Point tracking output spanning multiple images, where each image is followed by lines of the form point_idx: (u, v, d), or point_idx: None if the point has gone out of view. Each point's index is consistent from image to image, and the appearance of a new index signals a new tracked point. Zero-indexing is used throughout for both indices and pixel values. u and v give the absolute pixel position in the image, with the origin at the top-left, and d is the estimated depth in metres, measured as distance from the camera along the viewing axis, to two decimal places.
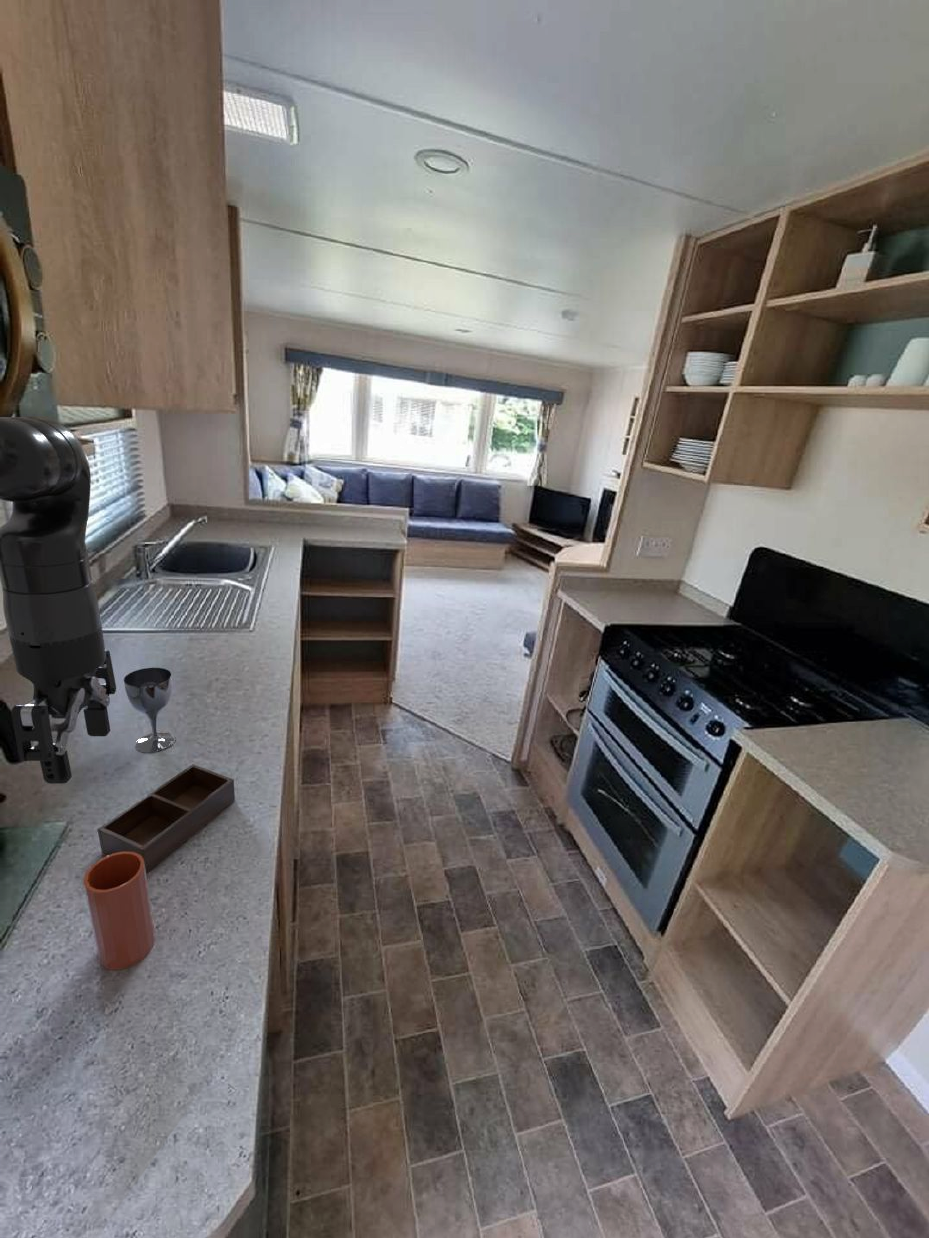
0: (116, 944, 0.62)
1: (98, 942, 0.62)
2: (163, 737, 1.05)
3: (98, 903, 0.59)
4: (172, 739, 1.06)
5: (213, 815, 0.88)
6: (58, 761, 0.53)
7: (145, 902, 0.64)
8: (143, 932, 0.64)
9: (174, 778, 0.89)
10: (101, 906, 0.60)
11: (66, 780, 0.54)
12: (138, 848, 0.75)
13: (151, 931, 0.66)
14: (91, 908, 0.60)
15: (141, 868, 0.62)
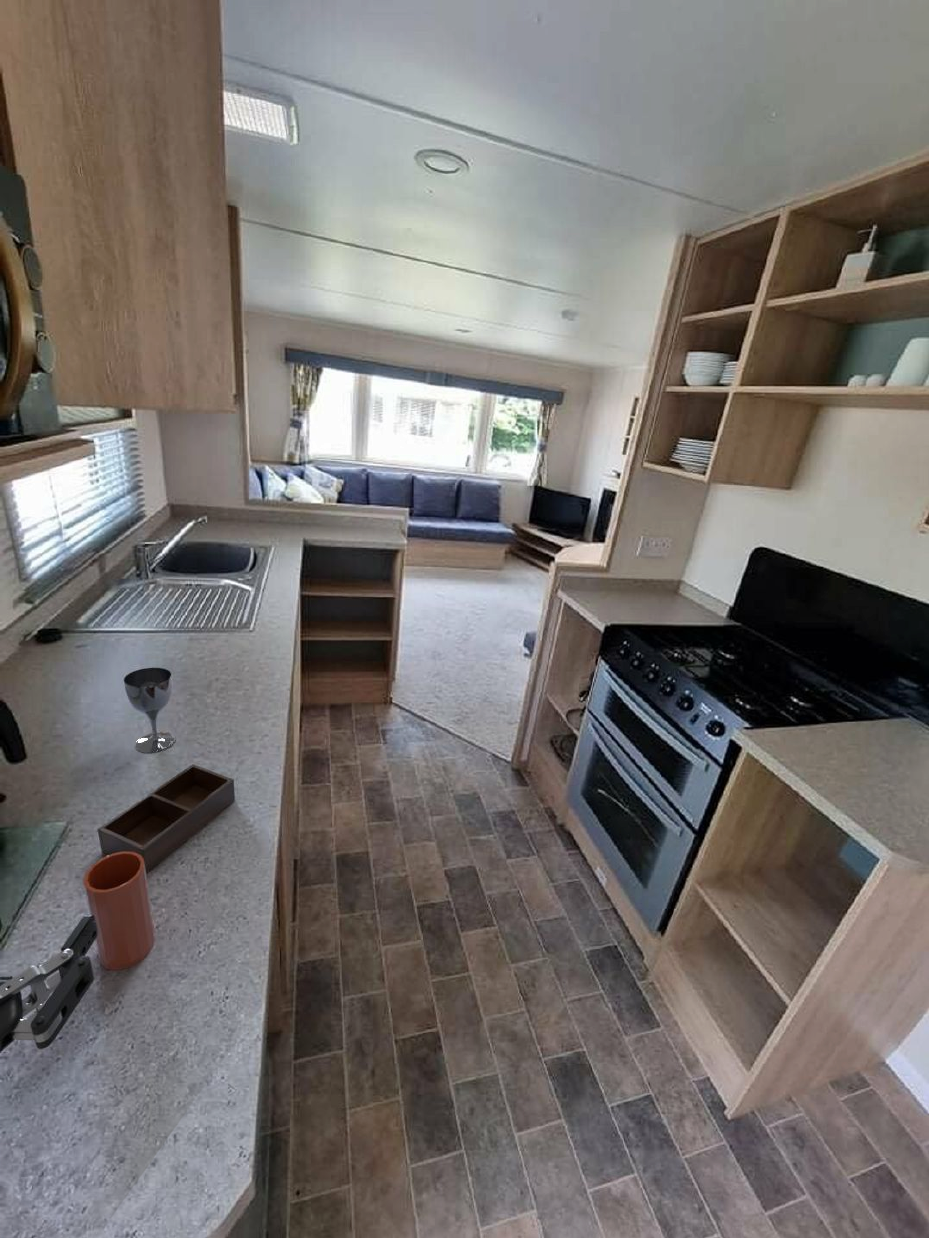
0: (116, 944, 0.62)
1: (98, 942, 0.62)
2: (163, 737, 1.05)
3: (98, 903, 0.59)
4: (172, 739, 1.06)
5: (213, 815, 0.88)
6: None
7: (145, 902, 0.64)
8: (143, 932, 0.64)
9: (174, 778, 0.89)
10: (101, 906, 0.60)
11: None
12: (138, 848, 0.75)
13: (151, 931, 0.66)
14: (91, 908, 0.60)
15: (141, 868, 0.62)
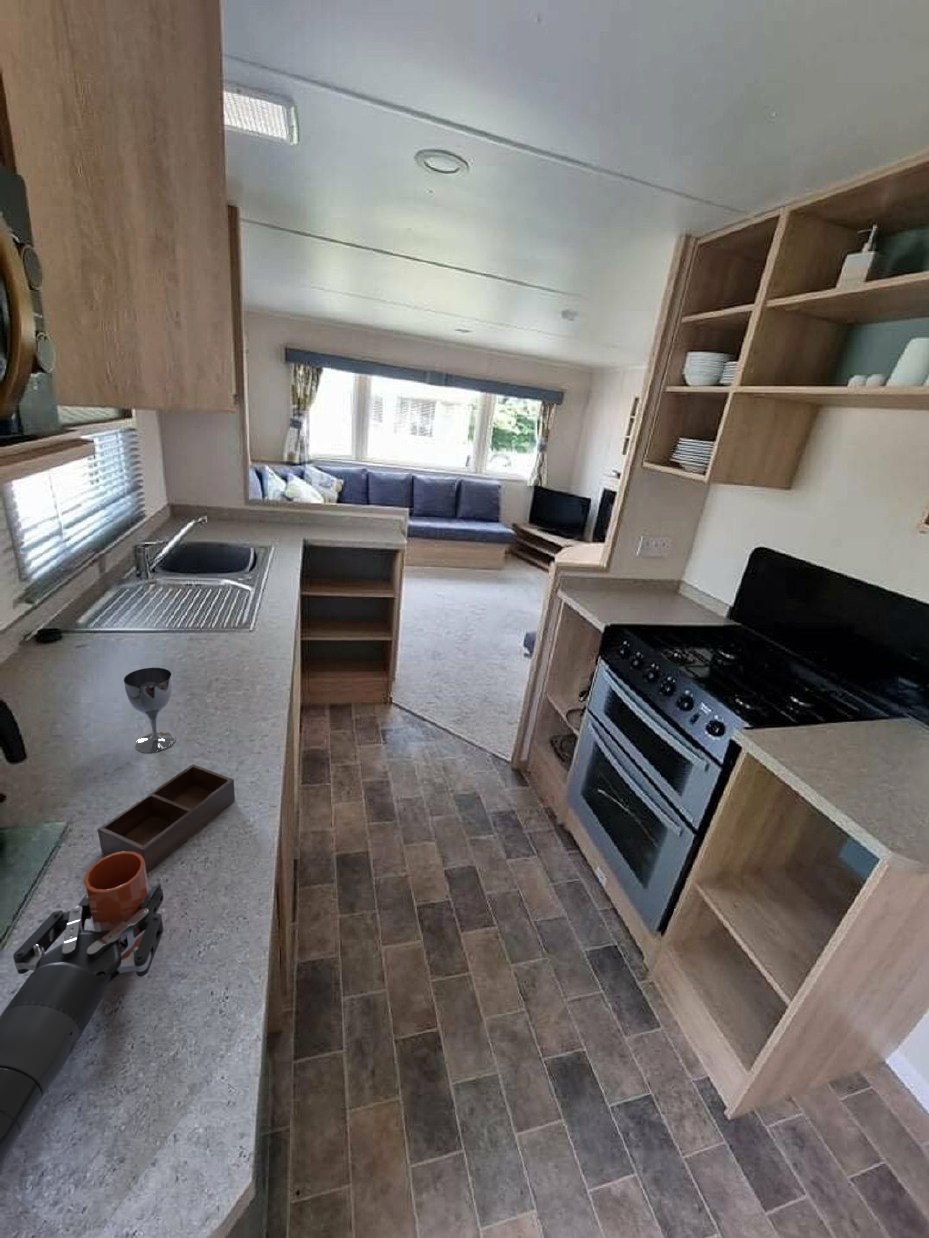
0: None
1: None
2: (163, 737, 1.05)
3: (98, 903, 0.59)
4: (172, 739, 1.06)
5: (213, 815, 0.88)
6: None
7: None
8: None
9: (174, 778, 0.89)
10: (101, 906, 0.60)
11: None
12: (138, 848, 0.75)
13: None
14: (91, 908, 0.60)
15: (141, 868, 0.62)
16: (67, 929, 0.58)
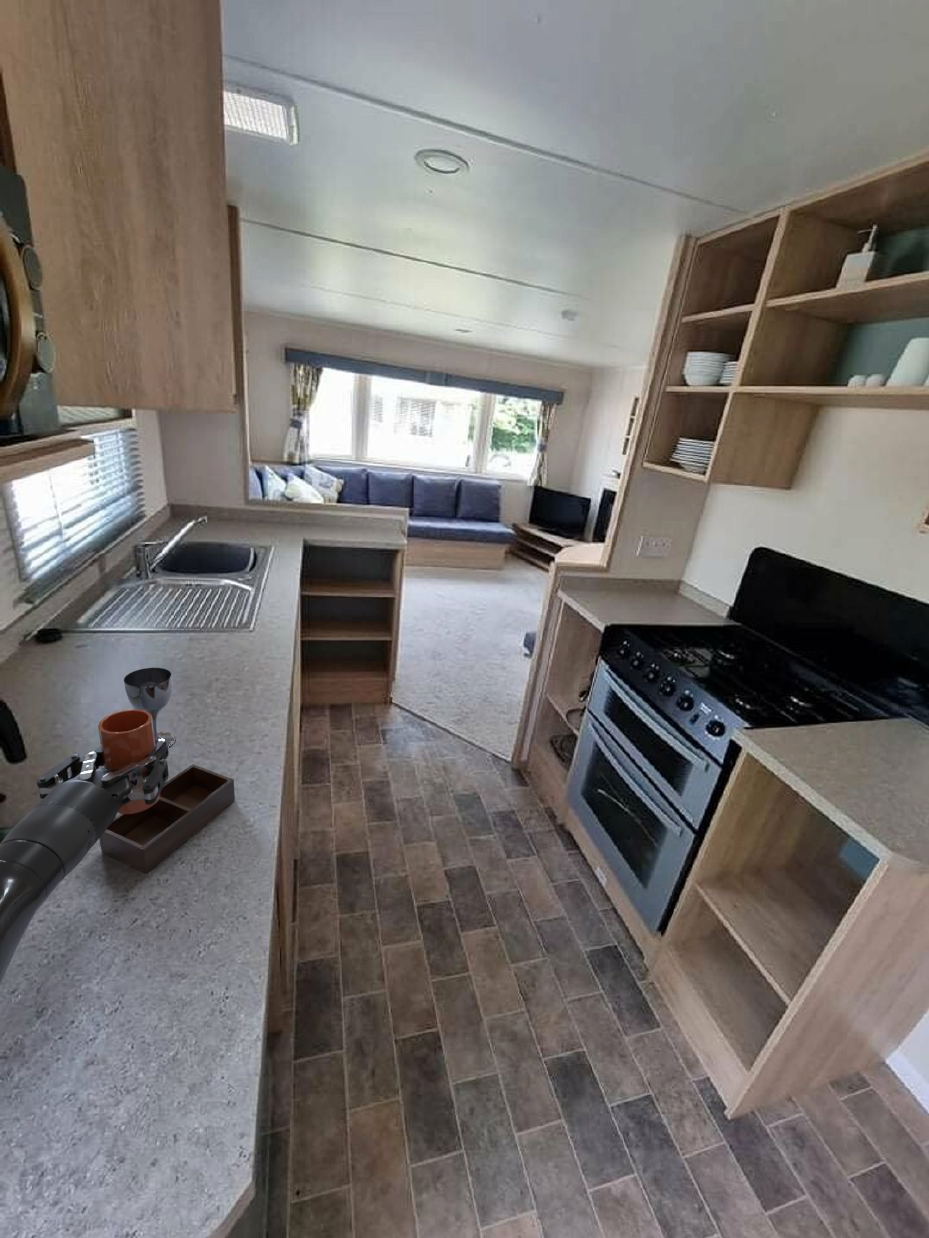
0: None
1: None
2: (163, 737, 1.05)
3: (111, 745, 0.67)
4: (172, 739, 1.06)
5: (213, 815, 0.88)
6: None
7: None
8: None
9: (174, 778, 0.89)
10: (113, 747, 0.67)
11: None
12: (138, 848, 0.75)
13: None
14: (105, 751, 0.67)
15: (149, 720, 0.70)
16: (83, 765, 0.65)
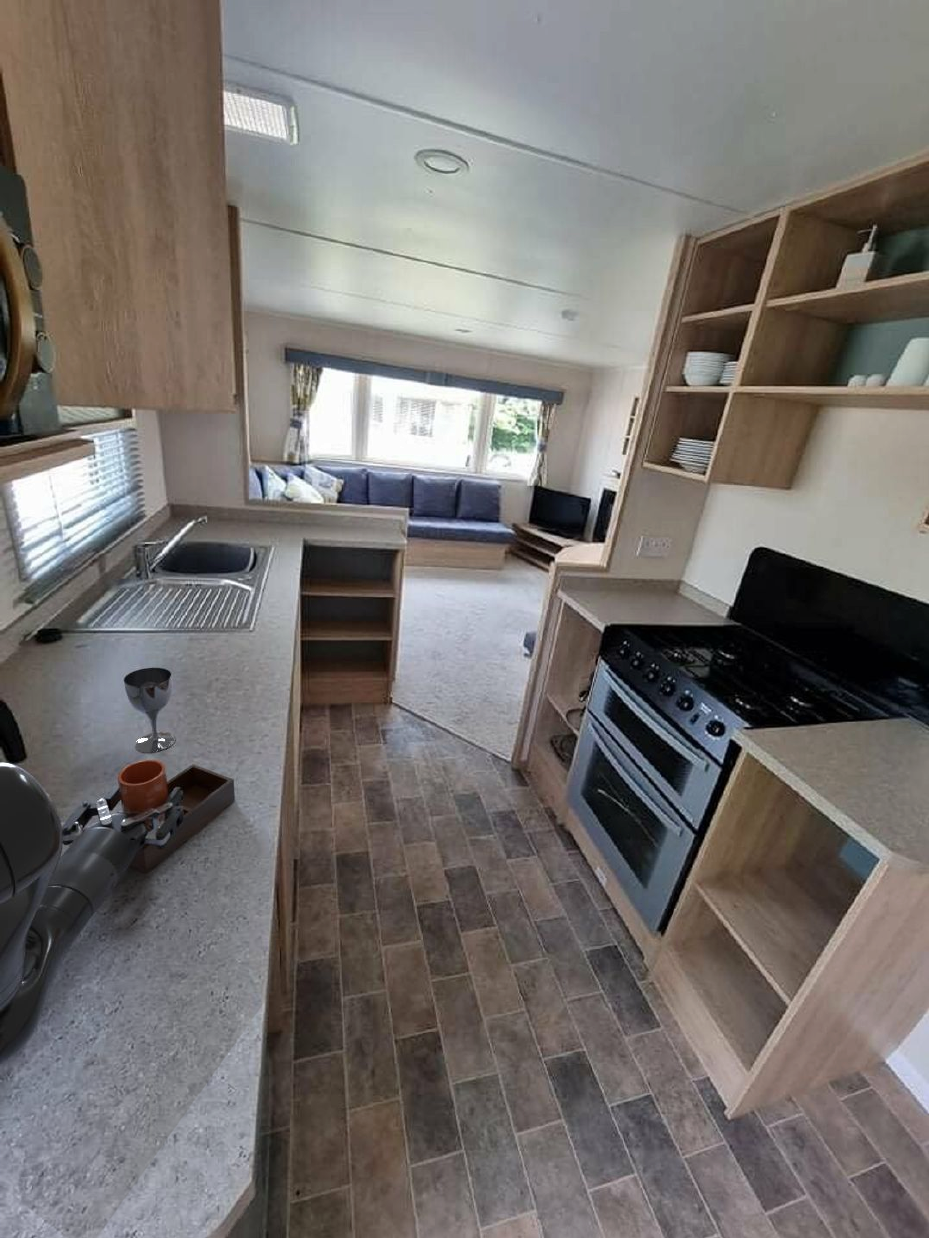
0: None
1: None
2: (163, 737, 1.05)
3: (129, 795, 0.75)
4: (172, 739, 1.06)
5: (213, 815, 0.88)
6: None
7: (165, 800, 0.79)
8: None
9: (174, 778, 0.89)
10: (132, 797, 0.75)
11: None
12: None
13: None
14: (123, 800, 0.75)
15: (163, 771, 0.78)
16: (99, 812, 0.73)
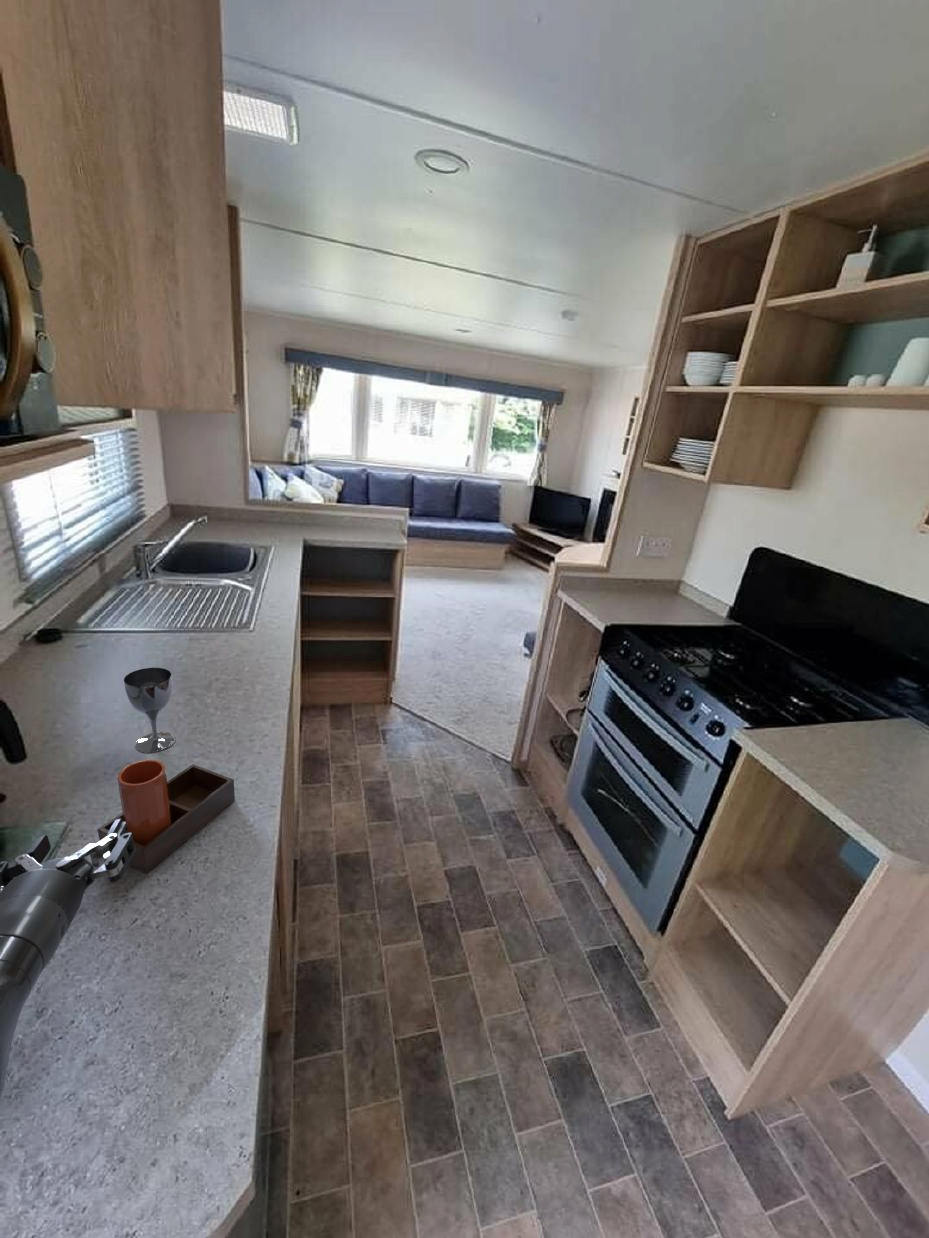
0: (142, 831, 0.77)
1: (128, 830, 0.77)
2: (163, 737, 1.05)
3: (129, 795, 0.75)
4: (172, 739, 1.06)
5: (213, 815, 0.88)
6: None
7: (165, 800, 0.79)
8: (164, 824, 0.79)
9: (174, 778, 0.89)
10: (132, 797, 0.75)
11: None
12: (138, 848, 0.75)
13: None
14: (123, 800, 0.75)
15: (163, 771, 0.78)
16: (23, 864, 0.59)
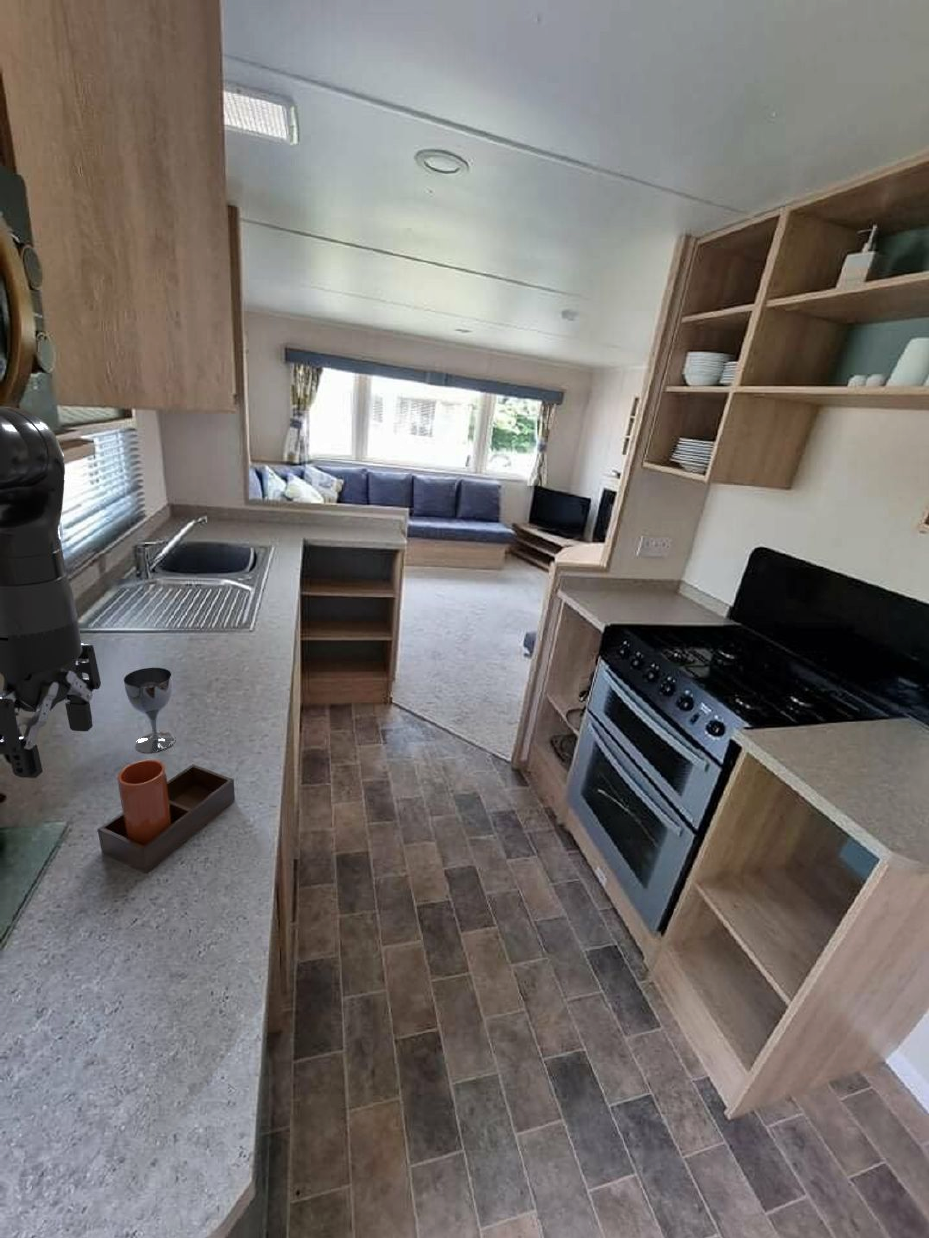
0: (142, 831, 0.77)
1: (128, 830, 0.77)
2: (163, 737, 1.05)
3: (129, 795, 0.75)
4: (172, 739, 1.06)
5: (213, 815, 0.88)
6: (27, 755, 0.52)
7: (165, 800, 0.79)
8: (164, 824, 0.79)
9: (174, 778, 0.89)
10: (132, 797, 0.75)
11: (36, 775, 0.54)
12: (138, 848, 0.75)
13: None
14: (123, 800, 0.75)
15: (163, 771, 0.78)
16: None
